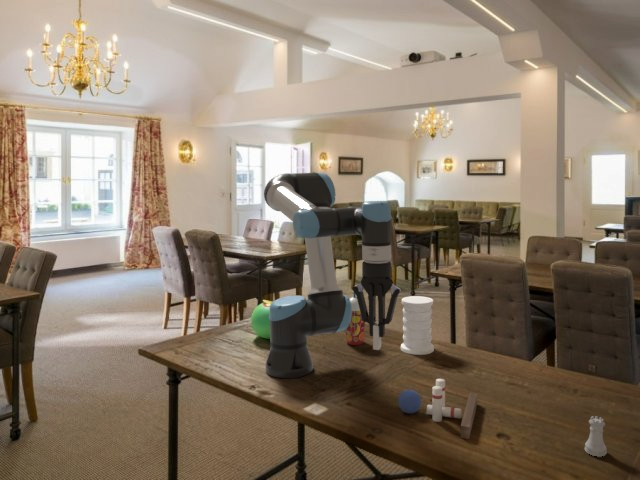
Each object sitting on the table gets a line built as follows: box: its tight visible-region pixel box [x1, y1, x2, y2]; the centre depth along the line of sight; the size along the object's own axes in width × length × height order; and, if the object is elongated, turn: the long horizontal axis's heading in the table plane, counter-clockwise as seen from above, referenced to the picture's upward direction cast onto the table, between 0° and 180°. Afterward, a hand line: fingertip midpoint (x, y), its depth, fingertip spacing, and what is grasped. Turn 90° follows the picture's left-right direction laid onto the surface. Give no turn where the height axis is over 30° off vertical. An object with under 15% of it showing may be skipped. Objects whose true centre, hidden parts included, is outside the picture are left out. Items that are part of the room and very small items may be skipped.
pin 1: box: [435, 378, 446, 407], centre depth 141 cm, size 2×2×8 cm
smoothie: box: [344, 291, 366, 346], centre depth 197 cm, size 8×8×20 cm
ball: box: [397, 389, 422, 414], centre depth 141 cm, size 6×6×6 cm
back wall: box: [460, 392, 478, 440], centre depth 136 cm, size 2×20×3 cm, turn 159°
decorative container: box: [400, 295, 435, 356], centre depth 189 cm, size 12×12×18 cm
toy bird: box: [250, 299, 275, 340], centre depth 206 cm, size 18×17×15 cm
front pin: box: [426, 404, 462, 420], centre depth 139 cm, size 2×2×8 cm
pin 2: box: [431, 385, 443, 423], centre depth 137 cm, size 2×2×8 cm
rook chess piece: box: [584, 415, 608, 458], centre depth 119 cm, size 4×4×8 cm
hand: (377, 348), depth 143 cm, fingers closed
